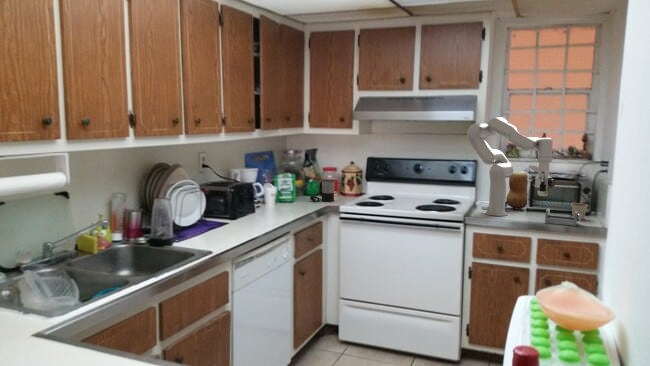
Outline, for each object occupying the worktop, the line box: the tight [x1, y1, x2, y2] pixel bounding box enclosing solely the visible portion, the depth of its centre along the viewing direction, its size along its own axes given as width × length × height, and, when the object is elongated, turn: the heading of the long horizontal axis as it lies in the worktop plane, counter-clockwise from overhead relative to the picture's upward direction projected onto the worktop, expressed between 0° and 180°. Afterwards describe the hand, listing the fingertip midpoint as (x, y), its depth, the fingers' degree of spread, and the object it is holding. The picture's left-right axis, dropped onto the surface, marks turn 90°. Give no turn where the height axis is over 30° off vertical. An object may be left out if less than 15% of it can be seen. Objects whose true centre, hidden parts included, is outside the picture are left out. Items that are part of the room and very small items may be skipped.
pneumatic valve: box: [531, 175, 556, 197], centre depth 296 cm, size 6×12×12 cm, turn 39°
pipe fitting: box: [544, 207, 582, 227], centre depth 294 cm, size 18×10×7 cm, turn 61°
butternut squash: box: [505, 170, 529, 210], centre depth 336 cm, size 14×13×25 cm
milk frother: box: [309, 178, 336, 203], centre depth 356 cm, size 14×16×15 cm
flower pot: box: [570, 202, 589, 220], centre depth 308 cm, size 9×9×9 cm
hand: (543, 190), depth 296 cm, fingers closed on pneumatic valve, 6 cm apart
